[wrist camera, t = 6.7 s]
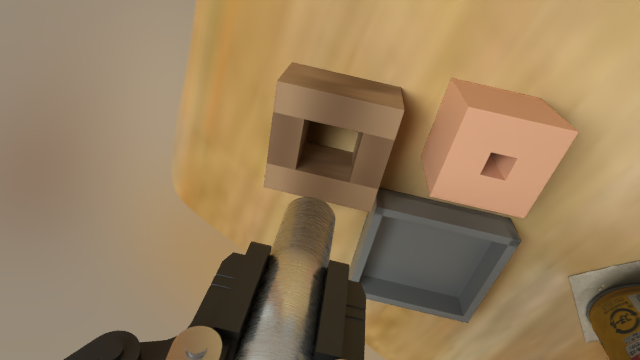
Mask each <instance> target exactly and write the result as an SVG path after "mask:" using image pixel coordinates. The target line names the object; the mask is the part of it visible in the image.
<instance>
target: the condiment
mask: <svg viewBox="0 0 640 360" xmlns="http://www.w3.org/2000/svg"><path fill="white" fill-rule="evenodd" d="M569 280H570V283H571V288H572V291H573V295H574V299H575V302H576V306H577V311H578V315H579V319H580V322H581V326H582V330H583V334H584V337H585V340H586V343H587V342H591V341H598V340H599V341H600V343H601V345H602V346H603V348H604V350H605V351H606V353H607V355H608V356H609V358H610V360H640V261H636V262H631V263H627V264H622V265H618V266H610V267H608V268H605V269H601V270H596V271H590V272H586V273H583V274H579V275H574V276H569ZM604 284H605V286H604V287H601V286H602V285H604ZM600 288H602V290H600V291H598V290H599V289H600Z"/></svg>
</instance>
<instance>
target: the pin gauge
mask: <svg viewBox="0 0 640 360" xmlns="http://www.w3.org/2000/svg"><path fill="white" fill-rule="evenodd" d="M334 226H335V215H334V212H333V210H332V209H331V208H330V206H329V205H328V204H326V203H325V202H323V201H322V200H319V199H317V198H312V197H302V198H298V199H296V200H294V201H292V202H291V203H290V204H289V205H288V207H287V208H286V211H285V214H284V216H283V219H282V222H281V225H280V228H279V230H278V233H277V236H276V239H275V242H274V244H273V247H272V250H271V254H270V257H269V260H268V263H267V266H266V269H265V271H264V274H263V277H262V280H261V283H260V286H259V288H258V291H257V294H256V297H255V300H254V302H253V305H252V308H251V311H250V314H249V317H248V319H247V322H246V325H245V328H244V331H243V333H242V336H241V339H240V342H239V345H238V348H237V349H236V351H235V354H234V356H233V359H232V360H312V359H313V353H314V347H315V340H316V334H317V328H318V321H319V315H320V309H321V303H322V296H323V290H324V284H325V278H326V271H327V267H328V263H329V258H330V251H331V245H332V239H333V232H334Z"/></svg>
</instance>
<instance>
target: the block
mask: <svg viewBox="0 0 640 360" xmlns="http://www.w3.org/2000/svg"><path fill="white" fill-rule="evenodd" d="M577 134H578V131H577V130H576V129H575V128H574V127H572V126H571V125H570V124H569V123H568V122H567V121H566V120H564V119H563V118H562V117H561V116H560V115H559V114H558V113H557V112H555V111H554V110H553V109H552V108H551V107H550V106H549V105H547V104H546V103H545V102H544V101H543V100H542V99H541V98H537V97H532V96H528V95H524V94H519V93H515V92H511V91H506V90H502V89H497V88H493V87H489V86H484V85H480V84H476V83H471V82H467V81H463V80H458V79H454V78H451V80H450V83H449V85H448V88H447V90H446V93H445V96H444V98H443V101H442V103H441V106H440V108H439V111H438V114H437V116H436V119H435V121H434V124H433V127H432V129H431V132H430V134H429V137H428V139H427V142H426V145H425V147H424V150H423V152H422V155H421V158H422V162H423V167H424V172H425V176H426V181H427V186H428V190H429V195H430V197H435V198H439V199H443V200H447V201H452V202H456V203H460V204H465V205H469V206H473V207H477V208H482V209H486V210H490V211H494V212H499V213H503V214H507V215H511V216H516V217H520V218H525V217H526V215H527V213H528V212H529V210H530V209H531V207H532V205H533V204H534V202H535V201H536V199H537V198H538V196H539V194H540V193H541V191H542V190H543V188H544V186H545V185H546V183H547V182H548V180H549V178H550V177H551V175H552V174H553V172H554V171H555V169H556V167H557V166H558V164H559V163H560V161H561V159H562V158H563V156H564V155H565V153H566V152H567V150H568V148H569V147H570V145H571V144H572V142H573V140H574V139H575V137H576V136H577Z"/></svg>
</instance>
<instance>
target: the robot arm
mask: <svg viewBox="0 0 640 360" xmlns="http://www.w3.org/2000/svg"><path fill="white" fill-rule="evenodd" d="M270 254H271V246H269V245H265V244H261V243H256V242H251V243H250V245H249V248H248V250H247V252H246V255H242V254H238V253H232V254H231V255H230V256H228V257H227V258H226V259H225V260H224V261H222V263H221V265H220V268H219V269H218V271H217V274H216V276H215V277H214V279H213V281H212V284H211V286H210V287H209V289H208V291H207V293H206V295H205V297H204V299H203V301H202V303H201V305H200V307H199V309H198V311H197V313H196V315H195V317H194V319H193V321H192V323H191V324H190V326H189V327H188V328H187V329H186V330H184V331H182V332H181V333H180V334H179V335H178V336H176V337H174V338H171V339H168V340H163V341H152V342H139V341H138V339H137V338H136V337H135V336H134V335H133V334H132V333H129V332H126V331H112V332H109V333H105V334H104V335H101V336H99V337H98V338H96V339H95V340H93V341H92V342H90V343H88V344H87V345H85V346H84V347H83V348H81V349H79V350H78V351H76V352H75V353H73V354H72V355H70V356H69V357H67V358H66V359H64V360H232V359H233V356H234V354H235V351H236V349H237V348H238V345H239V342H240V339H241V336H242V333H243V331H244V328H245V325H246V322H247V319H248V317H249V314H250V311H251V308H252V305H253V302H254V300H255V297H256V294H257V291H258V288H259V286H260V283H261V280H262V277H263V274H264V271H265V269H266V266H267V263H268V260H269V257H270ZM348 277H349V264H344V263H340V262H336V261H332V260H329V263H328V267H327V271H326V278H325V284H324V290H323V296H322V303H321V309H320V315H319V321H318V328H317V334H316V340H315V347H314V353H313V359H312V360H364V345H365V313H366V312H365V309H366V294H365V292H364V290H363V287H362V285H361V283H360V282H355V281H351V280H348Z"/></svg>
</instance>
